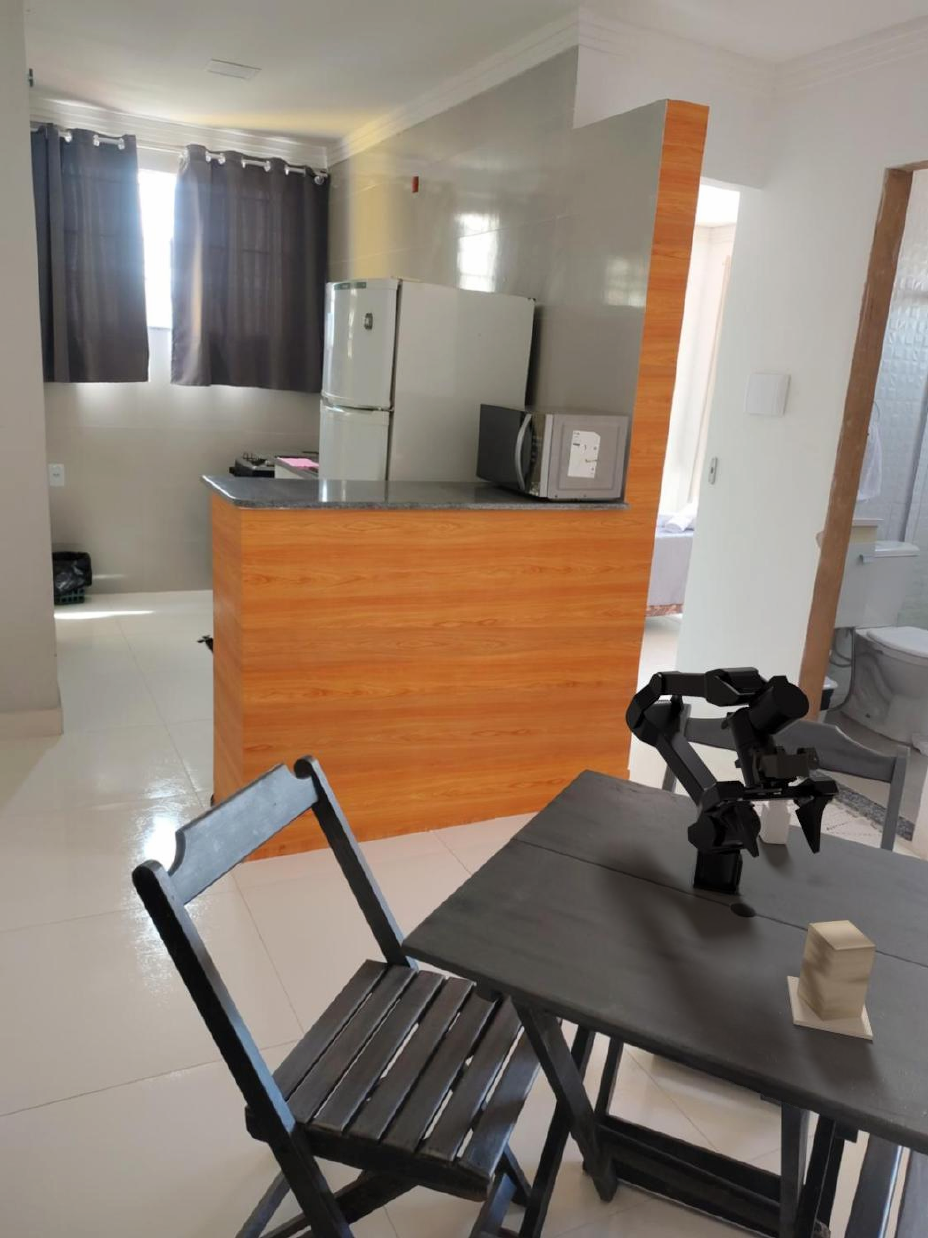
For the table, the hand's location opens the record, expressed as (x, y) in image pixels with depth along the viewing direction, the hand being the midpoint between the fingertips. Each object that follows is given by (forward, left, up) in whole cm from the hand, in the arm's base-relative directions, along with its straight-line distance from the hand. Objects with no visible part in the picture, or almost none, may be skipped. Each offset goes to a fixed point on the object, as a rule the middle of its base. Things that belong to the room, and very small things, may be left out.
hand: (786, 855), depth 127 cm
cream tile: (+6, -13, -14) cm, 20 cm away
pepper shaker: (+2, +32, -14) cm, 35 cm away
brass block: (+6, -13, -13) cm, 19 cm away
